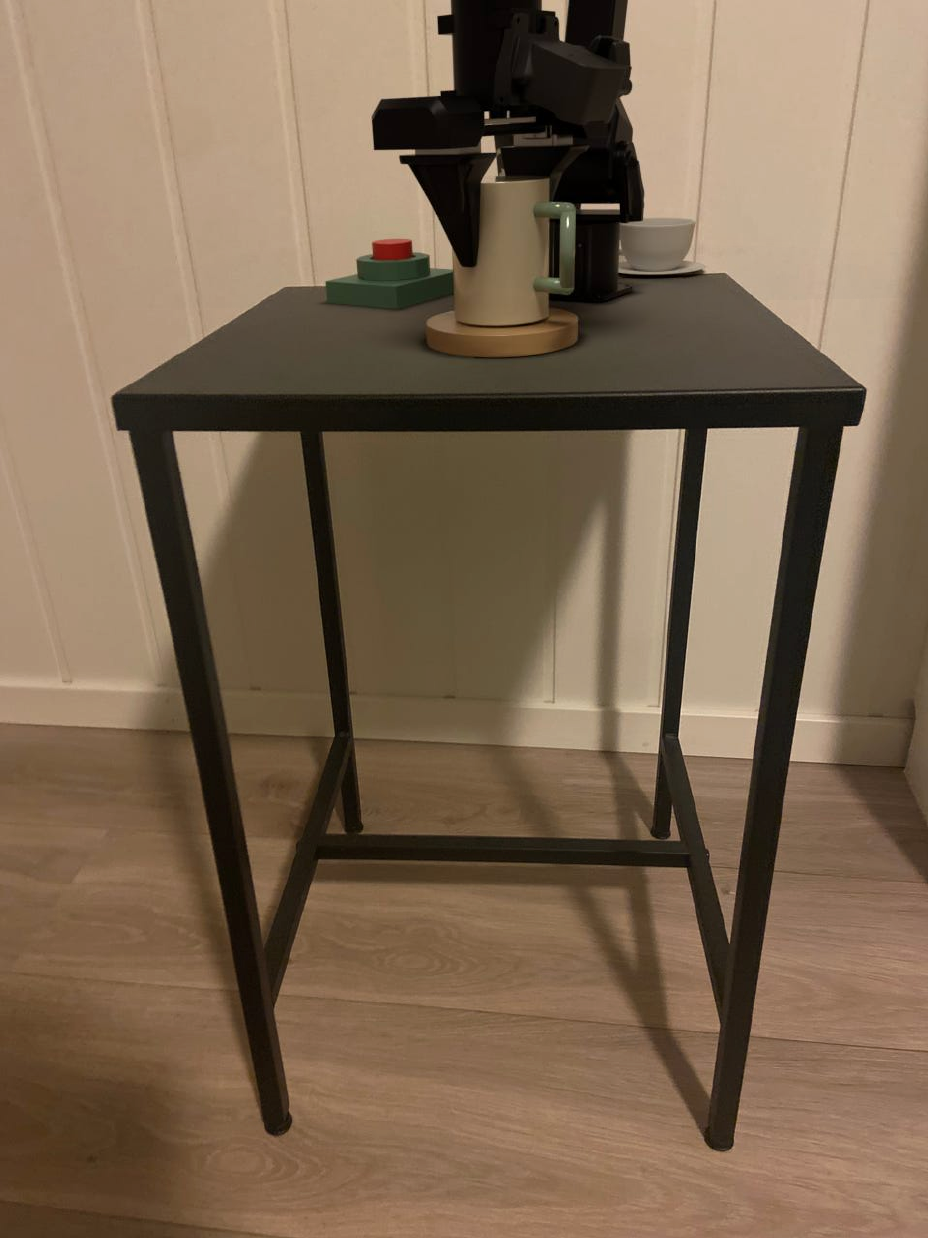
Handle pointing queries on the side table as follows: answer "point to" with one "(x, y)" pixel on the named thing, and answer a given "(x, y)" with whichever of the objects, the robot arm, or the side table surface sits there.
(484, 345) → the disc
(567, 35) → the robot arm
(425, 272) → the button box
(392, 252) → the button
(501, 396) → the side table surface
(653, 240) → the teacup
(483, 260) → the jug
